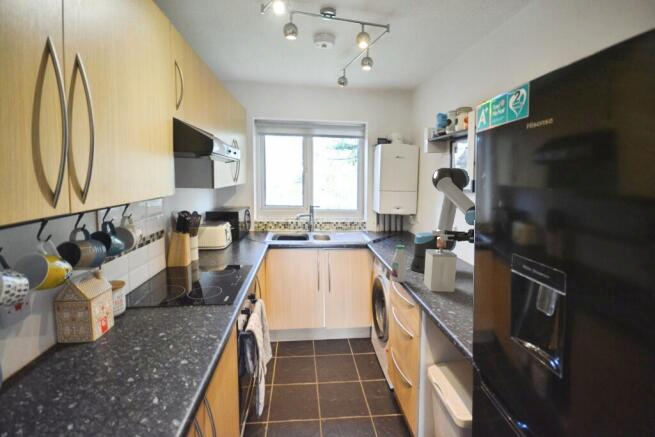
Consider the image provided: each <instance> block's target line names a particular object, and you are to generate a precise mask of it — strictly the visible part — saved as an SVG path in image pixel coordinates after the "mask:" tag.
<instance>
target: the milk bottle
mask: <svg viewBox="0 0 655 437" xmlns="http://www.w3.org/2000/svg"><path fill="white" fill-rule="evenodd" d="M405 247H406V246H405V245H402V244H398V245H396V246H395V248H396V249H395V253H394V256H393V258H392V266H391V281H392V282H394V283H405V282H406V281H407V257H406V255H405V250H406V249H405Z"/></svg>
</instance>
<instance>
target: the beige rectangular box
mask: <svg viewBox="0 0 655 437" xmlns="http://www.w3.org/2000/svg"><path fill="white" fill-rule="evenodd" d="M457 257H458V256H457V253H454V252H453V251H449V250H443V252H442V253H439V250H436V249H426V258H425V273H423V274H424V276H423V279H424V280H423V284H424V286H425V287H426V288H427V289H428V290H429V291H430V292H444V293H445V292H449V293H451V292H452V293H454V292H455V285H456V272H457V259H458V258H457Z"/></svg>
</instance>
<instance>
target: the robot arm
mask: <svg viewBox="0 0 655 437" xmlns="http://www.w3.org/2000/svg"><path fill="white" fill-rule="evenodd" d="M468 174H469V173H468V171H467V170H466V169H464V168H459V167H439V168H437V169H436V170H435V171H434V173H433V174H432V176H431V182H432V186H434V188H435V189H436V190H437V191H438V192H442V193H443V199H442V205H441V210H440V216H439V221H438V226H437V228H436V229H435V230H433V229H432V230H431V232H428V231H427V232H419V233H417V234H415V236H414V240H413V241H414V242H413V243H414V245H413V257H412V261H411V263H410V267H409V269H410V270H411V271H413V272H415V273H420V274H421V273H422V274H425V258H426V249H436V250H439V248H440V247H437V237H440V240H446V248H443V250H449V251H451V252H453V250H454V249H455V248H456V246H457V242H459V243H460V242H468V243H469V244H475V243H474V229H475V228H470V229H468V230H467V232H466V231H463V230H462V231H458V230H453V228H454V227H453V226H454V222H455V218H456V212H457V209H458V210H459V211H460V212H461V213H462V214H463V215H464V220H465V223H466V224H467V225H469V226H474V220H475V204H476V203H475V202H474V201H473V200H471V198H469V197H468V196H467V194H465V193H464V189H465V188H467V187H468V185H469V184H470V178H469V177H470V175H469V176H468Z"/></svg>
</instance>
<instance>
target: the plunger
mask: <svg viewBox="0 0 655 437" xmlns="http://www.w3.org/2000/svg"><path fill="white" fill-rule="evenodd" d="M437 247H440V248H439V253H442V252H443V248H446V240H440V237H437Z"/></svg>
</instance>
